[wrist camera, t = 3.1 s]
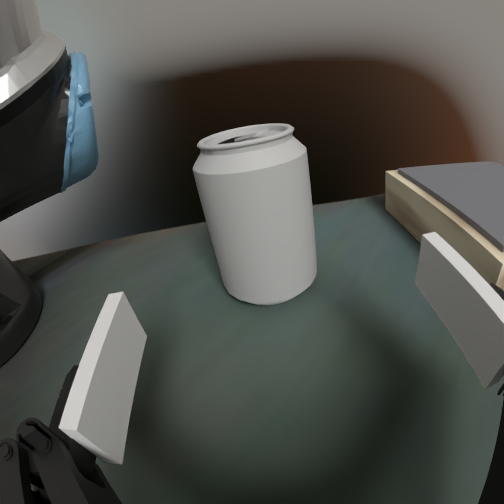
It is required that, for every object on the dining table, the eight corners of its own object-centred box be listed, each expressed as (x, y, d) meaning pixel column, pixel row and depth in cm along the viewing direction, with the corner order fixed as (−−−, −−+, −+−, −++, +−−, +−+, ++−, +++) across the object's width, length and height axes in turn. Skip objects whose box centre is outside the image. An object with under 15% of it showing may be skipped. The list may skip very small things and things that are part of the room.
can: (262, 247, 29) (239, 121, 23) (333, 267, 24) (323, 118, 18) (207, 293, 24) (163, 148, 18) (282, 326, 20) (253, 145, 14)
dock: (483, 316, 16) (504, 257, 13) (385, 208, 31) (385, 166, 29) (580, 263, 16) (593, 221, 13) (489, 192, 31) (492, 158, 28)
